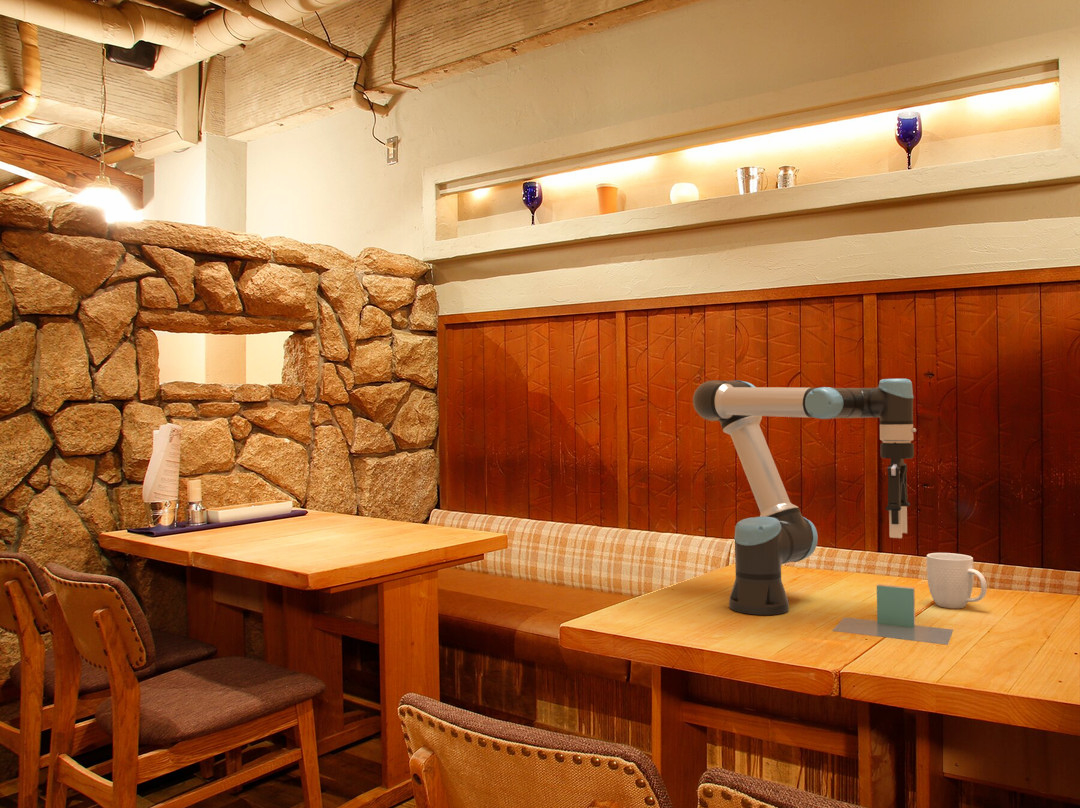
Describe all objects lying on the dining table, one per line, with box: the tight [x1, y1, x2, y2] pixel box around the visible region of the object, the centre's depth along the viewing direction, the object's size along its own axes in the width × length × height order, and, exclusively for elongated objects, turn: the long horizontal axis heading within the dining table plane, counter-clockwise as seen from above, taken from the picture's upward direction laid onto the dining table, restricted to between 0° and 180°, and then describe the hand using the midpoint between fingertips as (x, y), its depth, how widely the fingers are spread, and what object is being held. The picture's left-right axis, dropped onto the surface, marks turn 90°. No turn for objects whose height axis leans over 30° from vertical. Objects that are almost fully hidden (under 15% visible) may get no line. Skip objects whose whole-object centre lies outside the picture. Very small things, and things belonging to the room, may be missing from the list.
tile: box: [876, 583, 916, 628], centre depth 193 cm, size 8×2×9 cm, turn 59°
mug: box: [926, 552, 988, 609], centre depth 213 cm, size 15×11×13 cm
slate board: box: [831, 616, 954, 646], centre depth 188 cm, size 24×14×1 cm, turn 59°
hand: (898, 535), depth 199 cm, fingers open, 8 cm apart
